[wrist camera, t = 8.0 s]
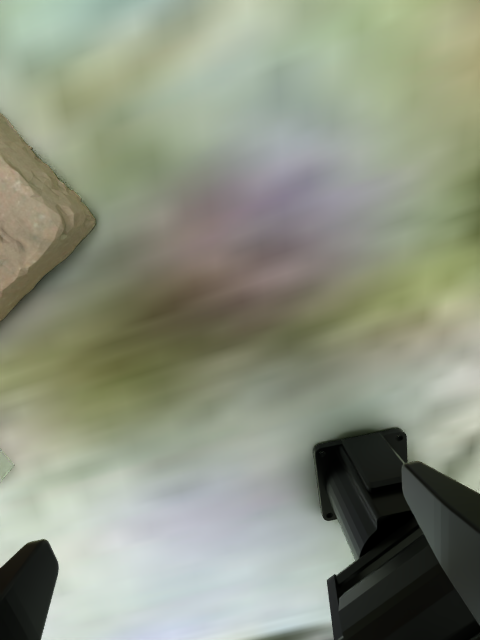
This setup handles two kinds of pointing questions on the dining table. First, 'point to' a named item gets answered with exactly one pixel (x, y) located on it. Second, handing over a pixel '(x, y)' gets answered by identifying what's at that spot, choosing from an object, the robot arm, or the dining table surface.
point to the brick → (33, 219)
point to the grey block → (4, 465)
